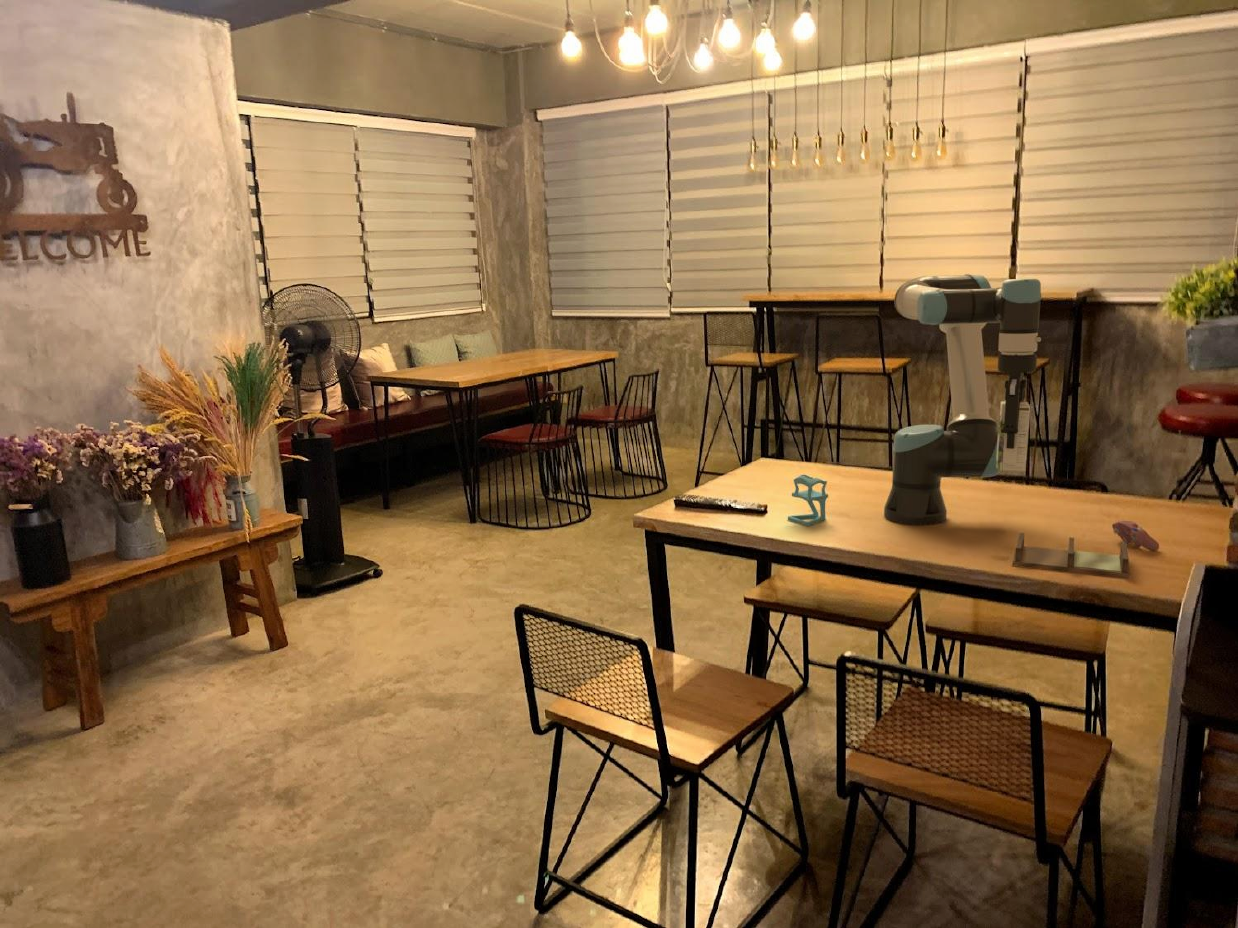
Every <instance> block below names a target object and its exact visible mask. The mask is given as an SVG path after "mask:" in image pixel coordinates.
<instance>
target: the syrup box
mask: <svg viewBox="0 0 1238 928" xmlns="http://www.w3.org/2000/svg"><path fill="white" fill-rule="evenodd" d="M1005 404H1006V400H1004V401H1003V400H1002V401H1000V405H999V416H998V418H999V419H998V427H997V430H998V440H997V456H996V467H997V470H999V471H1000V472H1001V471H1002V472H1003V471H1005V472H1026V470H1027V458H1028V457H1027V456H1028V444H1029V430H1030V420H1031V419H1030V418H1031V405H1030V404H1029V402H1028V401H1024V402H1021V403H1020V408H1019V421H1018V432H1017V433H1019V434H1018V452H1017V464H1012V463H1003V449H1004V433H1001V430H1003V428H1004V420H1005Z"/></svg>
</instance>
